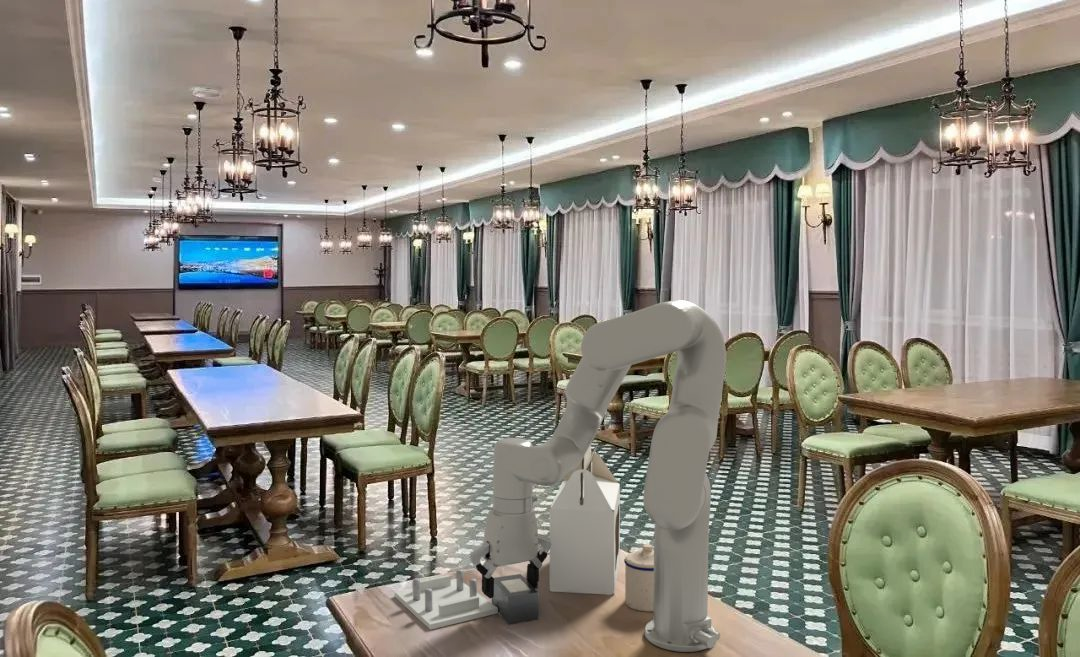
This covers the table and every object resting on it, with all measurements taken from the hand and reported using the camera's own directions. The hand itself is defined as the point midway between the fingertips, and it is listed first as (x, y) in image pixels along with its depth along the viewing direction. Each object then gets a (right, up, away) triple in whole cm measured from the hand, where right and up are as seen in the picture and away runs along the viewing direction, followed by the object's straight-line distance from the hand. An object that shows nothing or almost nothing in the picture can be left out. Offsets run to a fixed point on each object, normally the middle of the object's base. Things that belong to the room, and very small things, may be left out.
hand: (510, 590), depth 154 cm
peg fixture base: (-13, -4, +3) cm, 14 cm away
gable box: (+16, -3, +20) cm, 25 cm away
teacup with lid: (+27, -4, +5) cm, 27 cm away
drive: (+1, -4, 0) cm, 4 cm away
